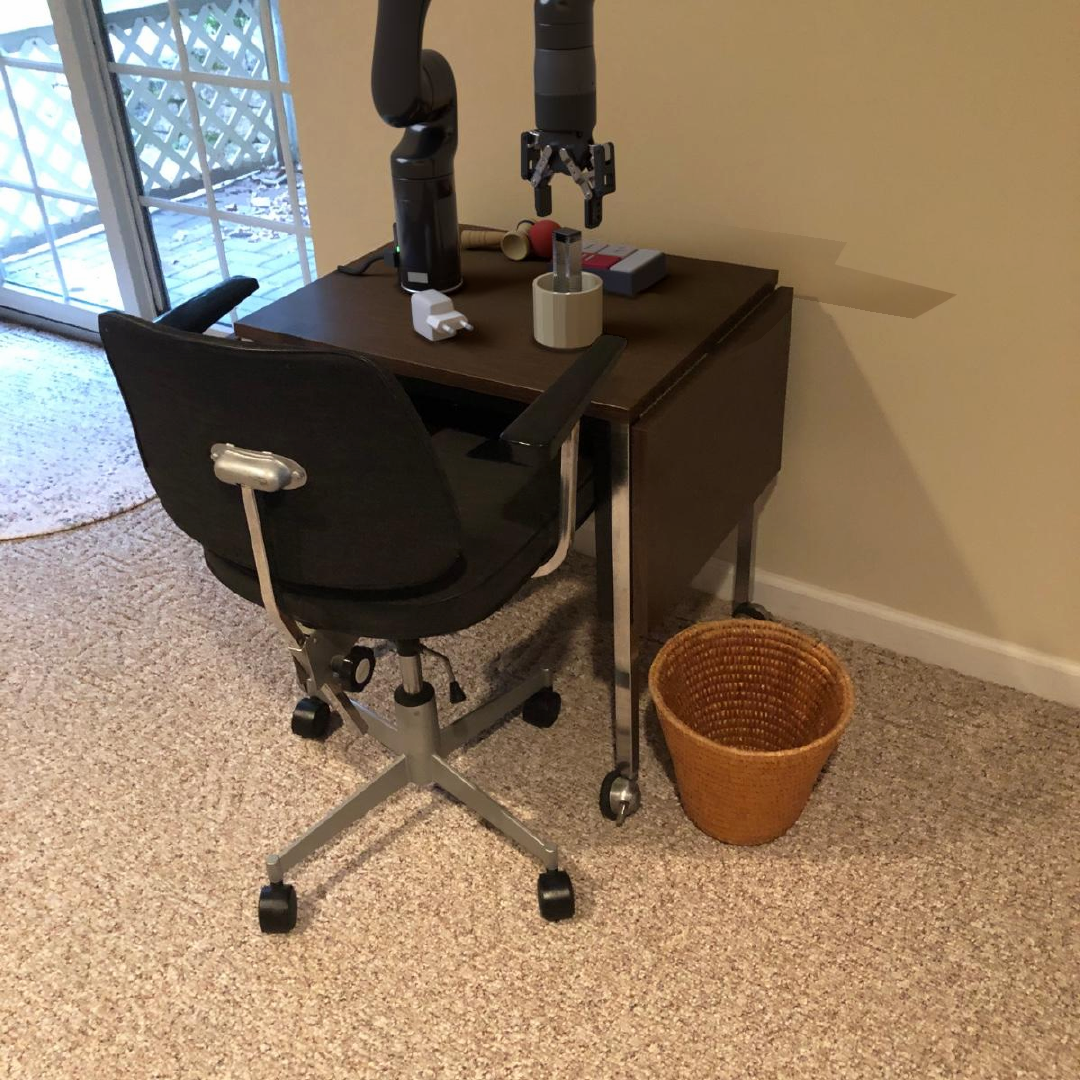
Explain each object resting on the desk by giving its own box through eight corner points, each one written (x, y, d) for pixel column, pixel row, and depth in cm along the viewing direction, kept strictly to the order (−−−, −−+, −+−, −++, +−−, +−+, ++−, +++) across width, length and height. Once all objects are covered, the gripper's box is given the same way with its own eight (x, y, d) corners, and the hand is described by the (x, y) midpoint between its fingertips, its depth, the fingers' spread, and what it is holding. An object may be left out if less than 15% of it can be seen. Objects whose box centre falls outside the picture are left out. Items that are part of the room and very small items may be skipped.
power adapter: (480, 350, 144) (478, 308, 140) (449, 359, 141) (446, 317, 138) (439, 325, 151) (436, 285, 148) (409, 333, 149) (405, 293, 146)
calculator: (581, 238, 171) (666, 247, 164) (583, 265, 173) (666, 275, 166) (545, 258, 163) (632, 268, 156) (547, 286, 165) (633, 297, 158)
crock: (520, 340, 146) (518, 283, 142) (567, 320, 152) (567, 265, 147) (569, 358, 141) (568, 299, 136) (616, 337, 146) (617, 280, 142)
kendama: (455, 264, 177) (555, 260, 170) (451, 224, 175) (551, 219, 168) (476, 258, 184) (573, 254, 176) (472, 220, 182) (570, 214, 174)
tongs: (552, 334, 146) (549, 230, 138) (566, 328, 148) (565, 225, 140) (570, 341, 144) (569, 236, 136) (584, 335, 146) (584, 230, 138)
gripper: (630, 87, 126) (629, 225, 135) (545, 75, 135) (549, 205, 144) (587, 98, 122) (588, 239, 131) (501, 85, 131) (508, 218, 140)
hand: (567, 221), depth 137 cm, fingers open, 8 cm apart
